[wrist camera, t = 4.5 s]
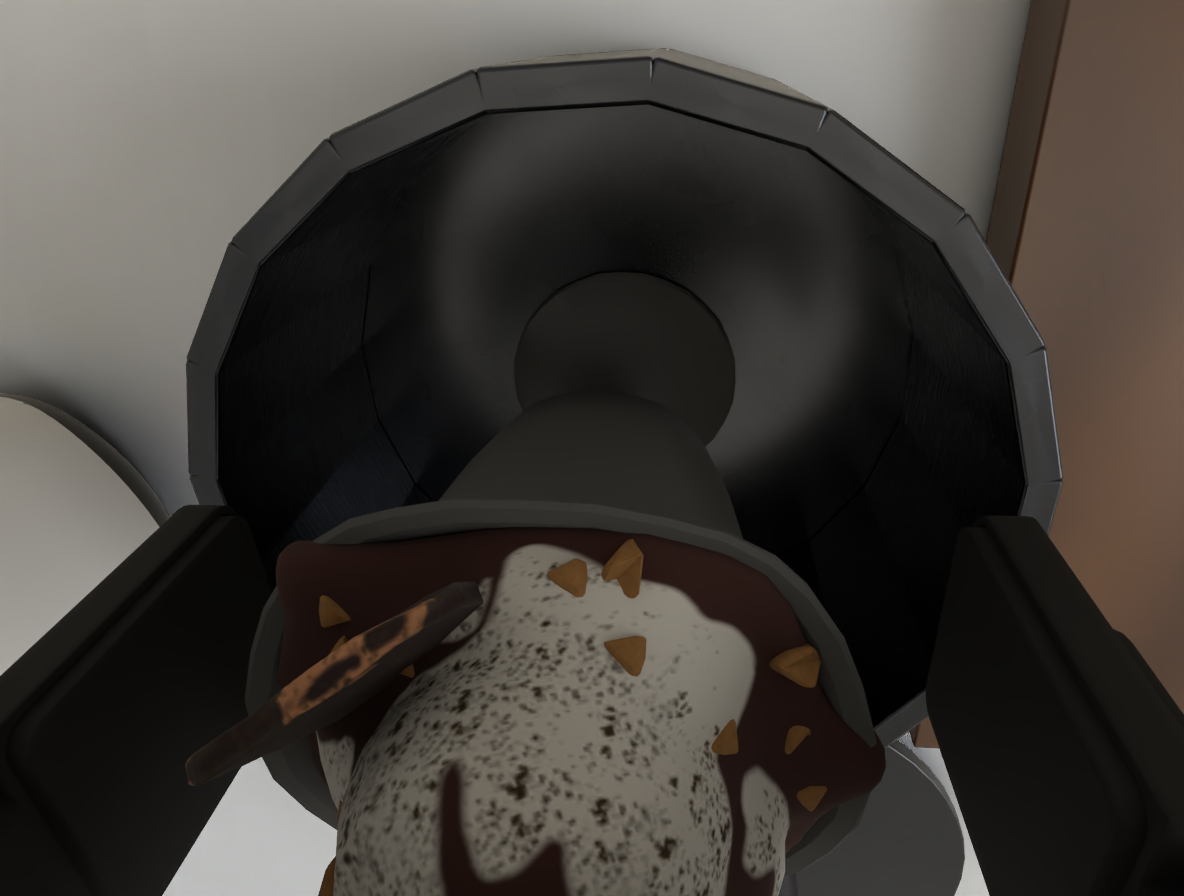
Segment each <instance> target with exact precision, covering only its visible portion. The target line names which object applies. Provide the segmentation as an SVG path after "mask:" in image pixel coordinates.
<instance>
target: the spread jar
mask: <svg viewBox="0 0 1184 896" xmlns="http://www.w3.org/2000/svg"><path fill="white" fill-rule="evenodd" d="M169 518H170V517H169V515H168V513H167V511H166V510H165V508H164V506H163V505H162V503H161V501H160V500H159V498H158V497H157V495H156V494H155V492H154V491H153V490H152V488H151V487H150V486H149V484H148V483H147V482H146V480H145V479H144V478H143V477H142V476H141V474H140V473H139V472H138V471H137V470H136V469H135V468H134V466H133V465H132V464H131V463H130V462H129V461H128V460H127V459H126V458H125V457H124V456H122V455H121V454H120V453H119V452H118V451H117V450H116V449H115V448H114V447H113V446H111V445H110V444H109V443H108V442H107V441H105V440H104V439H103V438H102V437H101V436H99V435H98V434H97V433H95V432H94V431H93V430H91V429H90V428H89V427H87V426H86V425H84V424H82V423H81V422H79V421H78V420H76V419H75V418H73V417H72V416H70V415H69V414H67V413H65V412H64V411H62V410H60V409H58V408H56V407H54V406H52V405H50V404H48V403H46V402H43V401H40V400H37V399H34V398H31V397H26V396H21V395H15V394H0V676H1V675H2V674H3V673H4V672H5V671H6V670H7V669H8V668H9V667H10V666H11V665H12V664H13V663H15V662H16V661H17V660H18V659H19V658H20V657H21V656H22V655H23V654H24V653H25V652H26V651H27V650H28V649H30V648H31V647H32V646H33V645H34V644H35V643H36V642H37V641H38V640H39V639H40V638H41V637H42V636H44V635H45V634H46V633H47V632H48V631H49V630H50V629H51V628H52V627H53V626H54V625H55V624H56V623H57V622H59V621H60V620H61V619H62V618H63V617H64V616H65V615H66V614H67V613H68V612H69V611H70V610H71V609H72V608H74V607H75V606H76V605H77V604H78V603H79V602H80V601H81V600H82V599H83V598H84V597H85V596H86V595H87V594H89V593H90V592H91V591H92V590H93V589H94V588H95V587H96V586H97V585H98V584H99V583H100V582H101V581H103V580H104V579H105V578H106V577H107V576H108V575H109V574H110V573H111V572H112V571H113V570H114V569H115V568H116V567H118V566H119V565H120V564H121V563H122V562H123V561H124V560H125V559H126V558H127V557H128V556H129V555H130V554H131V553H133V552H134V551H135V550H136V549H137V548H138V547H139V546H140V545H141V544H142V543H143V542H144V541H145V540H146V539H148V538H149V537H150V536H151V535H152V534H153V533H154V532H155V531H156V530H157V529H158V528H159V527H160V526H162V525H163V524H164V523H165V522H166V521H167V520H168V519H169Z"/></svg>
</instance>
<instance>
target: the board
mask: <svg viewBox="0 0 1184 896" xmlns="http://www.w3.org/2000/svg"><path fill="white" fill-rule="evenodd" d="M987 245H988V246H989V248H990V250H991V251H992V253H993V255H994V257H995V258H996V260H997V262H998V263H999V265H1000V267H1001V268H1002V270H1003V272H1004V273H1005V275H1006V277H1007V278H1008V280H1009V282H1010V283H1011V285H1012V287H1013V289H1014V290H1015V292H1016V294H1017V295H1018V297H1019V299H1020V300H1021V302H1022V304H1023V305H1024V307H1025V309H1026V310H1027V312H1028V314H1029V316H1030V317H1031V319H1032V321H1033V322H1034V324H1035V326H1036V327H1037V329H1038V331H1039V332H1040V334H1041V336H1042V337H1043V339H1044V341H1045V345H1044V346H1045V347H1046V348H1047V354H1048V361H1049V369H1050V377H1051V384H1052V392H1053V400H1054V407H1055V415H1056V423H1057V431H1058V438H1059V446H1060V454H1061V461H1062V469H1063V479H1062V481H1063V485H1062V488H1061V492H1060V496H1059V499H1058V503H1057V506H1056V510H1055V514H1054V517H1053V521H1052V525H1051V528H1050V532H1049V535H1048V537H1049V538H1050V539H1051V541H1052V542H1053V544H1054V545H1055V547H1056V548H1057V549H1058V551H1059V552H1060V554H1061V555H1062V557H1063V558H1064V559H1065V561H1066V562H1067V564H1068V565H1069V567H1070V568H1071V569H1072V571H1073V572H1074V574H1075V575H1076V577H1077V578H1078V580H1079V581H1080V582H1081V584H1082V585H1083V587H1084V588H1085V590H1086V591H1087V592H1088V594H1089V595H1090V597H1091V598H1092V600H1093V601H1094V602H1095V604H1096V605H1097V607H1098V608H1099V610H1100V611H1101V612H1102V614H1103V615H1104V617H1105V618H1106V620H1107V621H1108V622H1109V624H1110V625H1111V627H1112V628H1113V629H1115V630H1117V631H1119V632H1121V633H1123V634H1124V635H1125V636H1126V637H1127V638H1128V639H1129V640H1130V641H1131V642H1132V643H1133V644H1134V645H1135V647H1136V648H1137V650H1138V651H1139V652H1140V654H1141V655H1142V657H1143V658H1144V659H1145V661H1146V662H1147V664H1148V665H1149V666H1150V668H1151V669H1152V671H1153V672H1154V673H1155V675H1156V676H1157V678H1158V679H1159V680H1160V682H1161V683H1162V685H1163V686H1164V687H1165V689H1166V690H1167V692H1168V693H1169V694H1170V696H1171V697H1172V699H1173V700H1174V701H1175V703H1176V704H1177V706H1178V707H1179V708H1180V710H1181V711H1182V713H1183V714H1184V0H1032V2H1031V7H1030V12H1029V18H1028V23H1027V28H1026V34H1025V39H1024V45H1023V50H1022V55H1021V61H1020V66H1019V71H1018V77H1017V82H1016V87H1015V93H1014V98H1013V103H1012V109H1011V114H1010V120H1009V125H1008V130H1007V136H1006V141H1005V146H1004V152H1003V157H1002V162H1001V168H1000V173H999V179H998V184H997V189H996V195H995V200H994V205H993V211H992V216H991V221H990V227H989V232H988V238H987ZM909 732H910V735H911V738H912V742H913V745H914V746H915V747H924V748H939V745H938V742H937V739H936V736H935V733H934V731H933V728H932V725H931V722H930V719H929V716H928V717H927V718H926V719H924V720H923V721H922V722H920V723H919V724H918V725H916V726H915V727H914V728H912V729H911V730H909Z"/></svg>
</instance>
